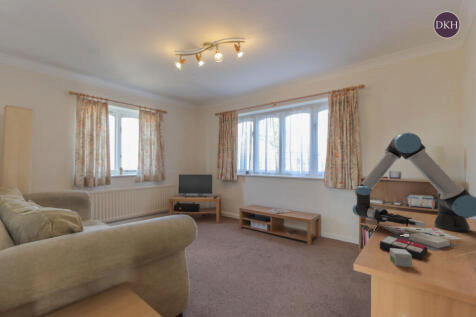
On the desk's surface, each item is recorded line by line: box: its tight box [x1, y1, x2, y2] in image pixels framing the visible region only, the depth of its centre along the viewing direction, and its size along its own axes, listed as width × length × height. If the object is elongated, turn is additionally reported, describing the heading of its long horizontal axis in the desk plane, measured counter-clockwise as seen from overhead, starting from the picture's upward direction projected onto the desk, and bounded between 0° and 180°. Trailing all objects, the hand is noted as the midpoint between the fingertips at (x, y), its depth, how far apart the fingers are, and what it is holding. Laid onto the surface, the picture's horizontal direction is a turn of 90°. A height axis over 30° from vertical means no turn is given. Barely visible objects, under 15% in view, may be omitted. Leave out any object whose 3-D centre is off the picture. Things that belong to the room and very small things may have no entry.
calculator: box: [379, 235, 428, 261], centre depth 97 cm, size 11×4×15 cm
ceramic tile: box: [409, 232, 451, 248], centre depth 106 cm, size 9×3×12 cm
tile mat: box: [389, 232, 459, 252], centre depth 108 cm, size 18×20×1 cm
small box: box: [389, 248, 413, 268], centre depth 85 cm, size 6×6×5 cm
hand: (423, 225), depth 107 cm, fingers closed
